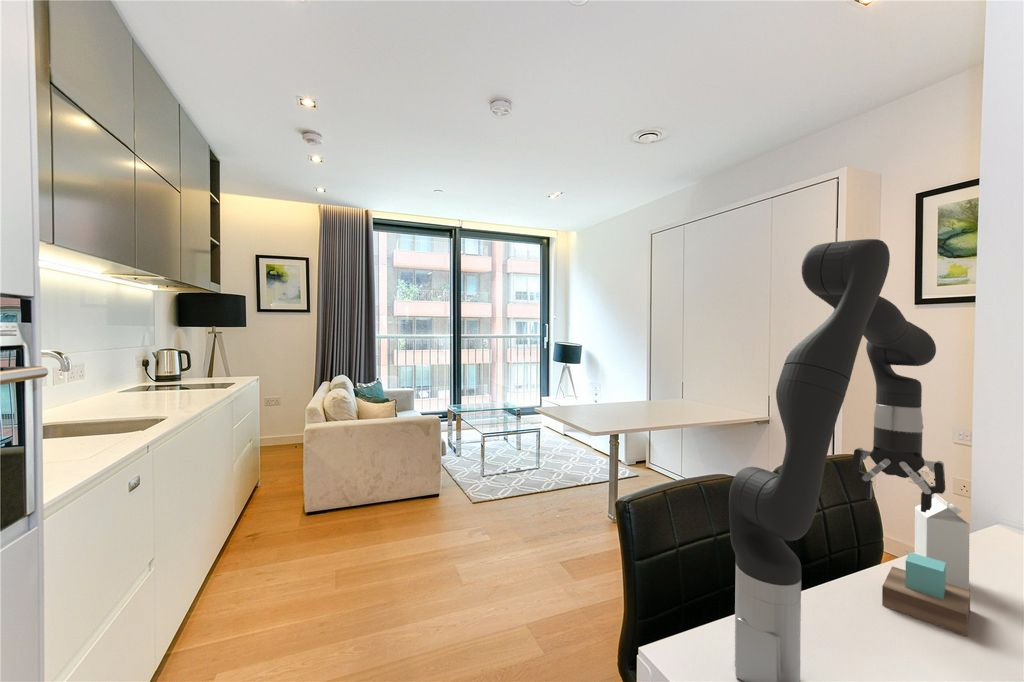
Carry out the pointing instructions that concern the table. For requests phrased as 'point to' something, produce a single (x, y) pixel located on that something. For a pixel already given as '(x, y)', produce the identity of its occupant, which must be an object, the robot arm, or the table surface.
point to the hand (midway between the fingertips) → (895, 504)
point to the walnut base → (928, 603)
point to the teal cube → (926, 575)
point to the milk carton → (944, 539)
